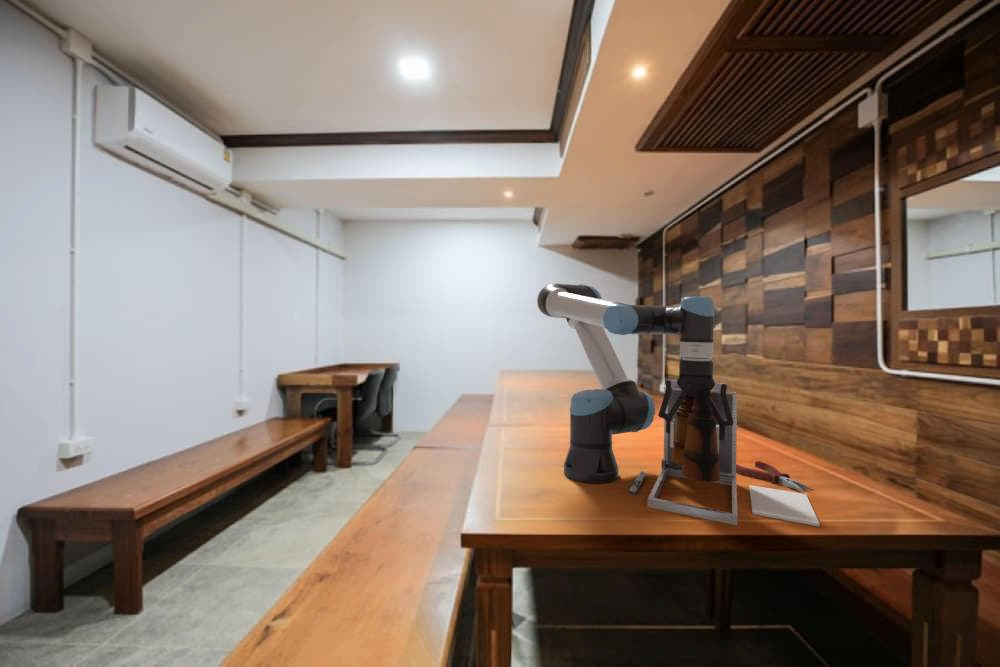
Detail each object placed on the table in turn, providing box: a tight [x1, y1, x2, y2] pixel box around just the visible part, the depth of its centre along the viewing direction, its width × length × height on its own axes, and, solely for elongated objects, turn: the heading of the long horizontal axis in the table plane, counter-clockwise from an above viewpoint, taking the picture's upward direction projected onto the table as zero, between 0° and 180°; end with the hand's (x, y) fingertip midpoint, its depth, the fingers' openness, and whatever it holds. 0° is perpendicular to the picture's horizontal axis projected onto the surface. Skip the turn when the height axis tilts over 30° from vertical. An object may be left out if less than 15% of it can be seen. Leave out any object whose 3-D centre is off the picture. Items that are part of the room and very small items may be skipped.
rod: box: [628, 471, 647, 496], centre depth 109 cm, size 2×14×2 cm, turn 151°
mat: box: [748, 484, 821, 527], centre depth 97 cm, size 12×18×1 cm, turn 151°
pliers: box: [736, 460, 814, 493], centre depth 114 cm, size 12×20×3 cm, turn 15°
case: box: [647, 386, 738, 526], centre depth 103 cm, size 18×27×24 cm
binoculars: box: [671, 391, 720, 483], centre depth 103 cm, size 18×8×20 cm, turn 172°
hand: (694, 449), depth 103 cm, fingers closed on binoculars, 9 cm apart
